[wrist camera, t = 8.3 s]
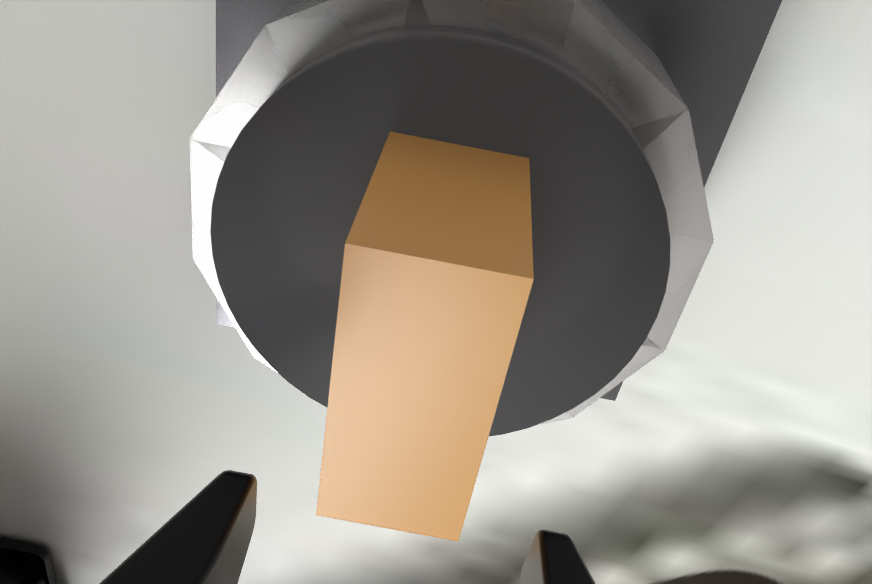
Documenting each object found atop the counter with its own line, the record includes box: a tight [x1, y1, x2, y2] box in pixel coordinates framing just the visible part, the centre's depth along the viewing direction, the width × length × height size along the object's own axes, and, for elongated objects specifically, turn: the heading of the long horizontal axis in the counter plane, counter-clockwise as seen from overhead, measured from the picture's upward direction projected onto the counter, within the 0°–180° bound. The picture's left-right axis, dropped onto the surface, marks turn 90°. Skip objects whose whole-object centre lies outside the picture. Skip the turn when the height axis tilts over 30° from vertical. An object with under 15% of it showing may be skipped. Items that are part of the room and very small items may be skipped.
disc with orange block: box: [210, 26, 670, 541], centre depth 14 cm, size 9×9×7 cm
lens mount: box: [190, 0, 782, 425], centre depth 17 cm, size 12×12×5 cm
